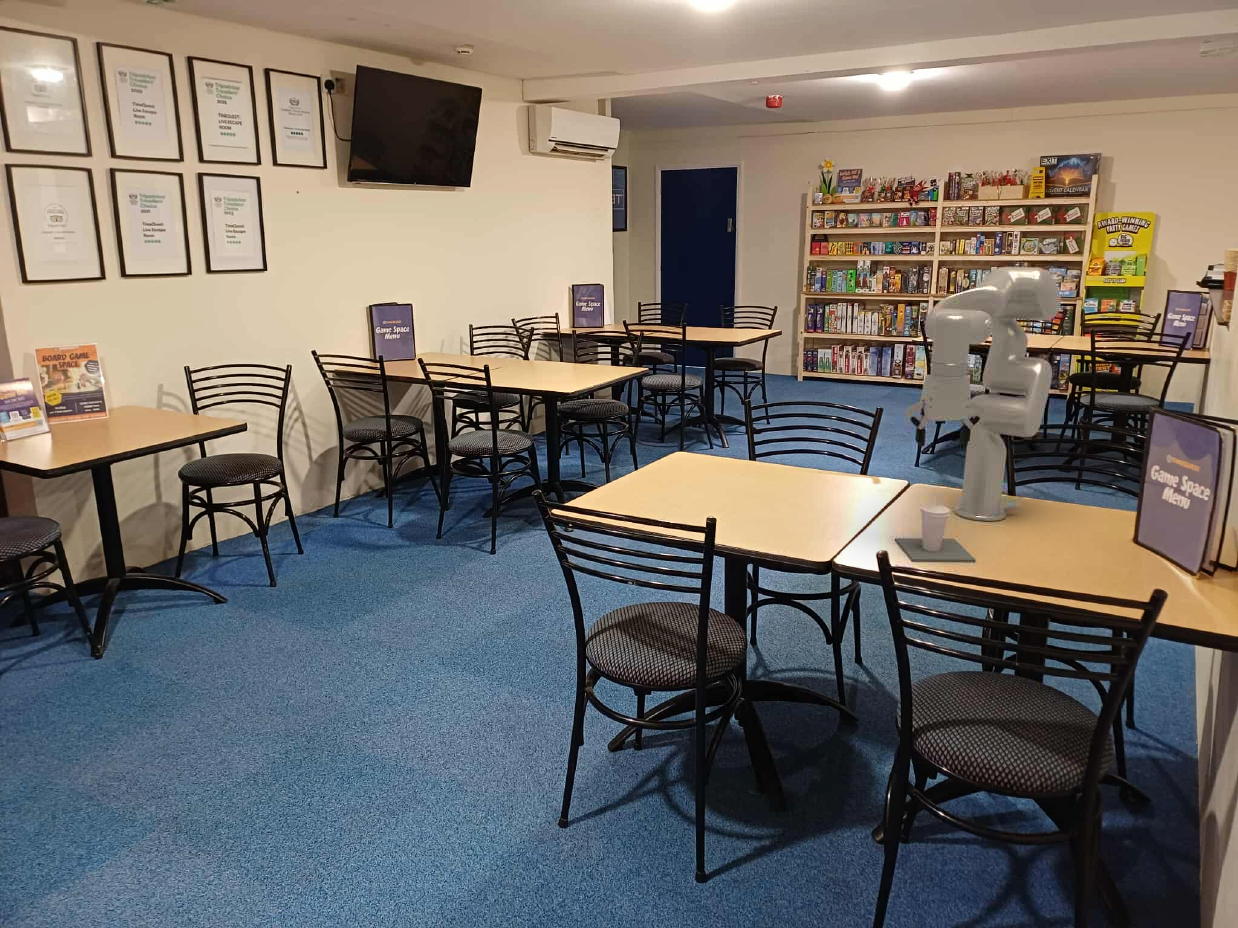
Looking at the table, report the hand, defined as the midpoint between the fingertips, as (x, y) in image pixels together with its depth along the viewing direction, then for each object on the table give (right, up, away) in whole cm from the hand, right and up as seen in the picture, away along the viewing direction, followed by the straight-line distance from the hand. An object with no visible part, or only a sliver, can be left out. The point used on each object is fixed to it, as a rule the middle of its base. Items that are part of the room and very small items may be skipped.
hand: (941, 444), depth 196 cm
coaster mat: (0, -24, +4) cm, 25 cm away
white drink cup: (-1, -24, +4) cm, 24 cm away
